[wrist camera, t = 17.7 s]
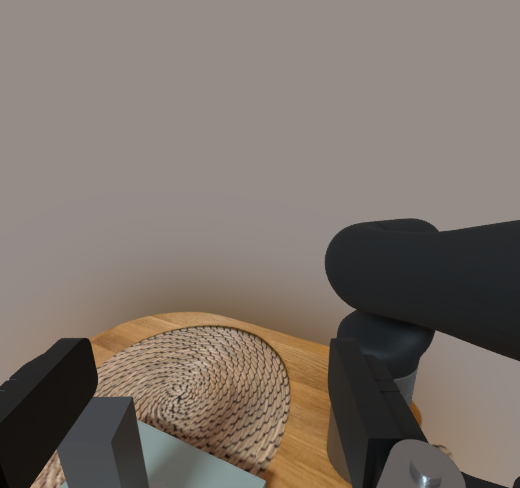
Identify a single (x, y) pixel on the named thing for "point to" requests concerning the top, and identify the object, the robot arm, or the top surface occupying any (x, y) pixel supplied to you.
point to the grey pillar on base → (105, 447)
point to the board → (187, 464)
